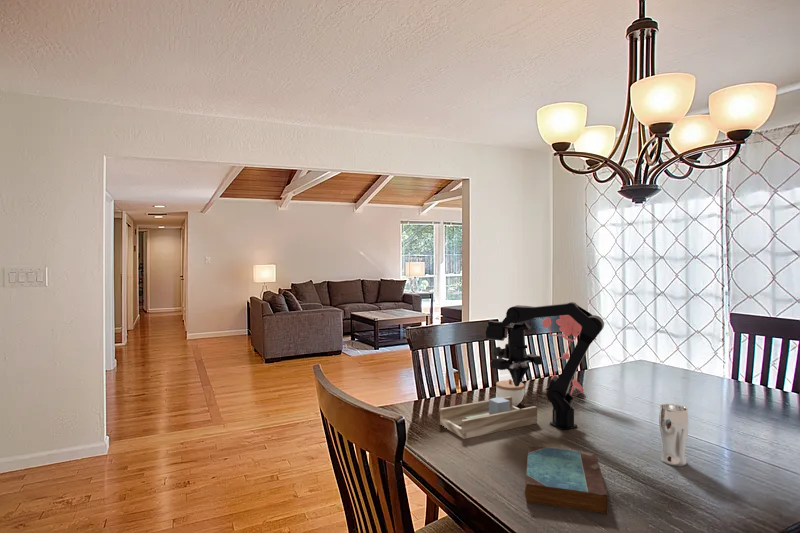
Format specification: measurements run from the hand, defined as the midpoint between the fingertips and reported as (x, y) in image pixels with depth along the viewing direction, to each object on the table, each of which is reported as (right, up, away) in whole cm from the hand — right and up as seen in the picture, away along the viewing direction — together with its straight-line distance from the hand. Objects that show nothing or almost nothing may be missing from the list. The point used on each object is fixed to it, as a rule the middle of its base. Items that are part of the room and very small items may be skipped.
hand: (516, 386), depth 164 cm
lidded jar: (+2, -11, +17) cm, 20 cm away
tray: (-11, -12, -5) cm, 17 cm away
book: (0, -13, -48) cm, 50 cm away
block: (-7, -9, -3) cm, 12 cm away
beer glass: (+34, -12, -35) cm, 51 cm away
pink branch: (+32, -11, +35) cm, 48 cm away
